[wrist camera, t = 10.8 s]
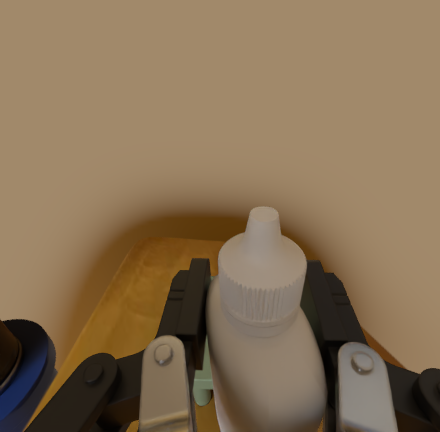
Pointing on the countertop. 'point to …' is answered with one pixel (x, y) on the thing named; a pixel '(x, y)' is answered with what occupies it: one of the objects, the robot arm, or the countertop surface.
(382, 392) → the robot arm
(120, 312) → the countertop surface
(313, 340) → the eye dropper bottle
